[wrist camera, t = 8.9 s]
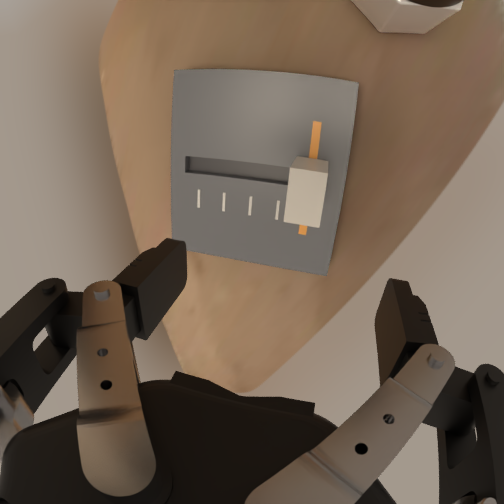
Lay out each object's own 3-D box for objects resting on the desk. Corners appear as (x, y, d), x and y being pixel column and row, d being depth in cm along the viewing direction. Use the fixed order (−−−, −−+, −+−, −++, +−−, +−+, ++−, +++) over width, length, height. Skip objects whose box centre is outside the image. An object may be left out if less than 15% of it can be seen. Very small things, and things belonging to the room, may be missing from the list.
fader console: (187, 72, 27) (173, 69, 24) (355, 85, 24) (358, 82, 22) (184, 236, 35) (172, 248, 33) (327, 261, 33) (326, 276, 30)
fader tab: (298, 153, 26) (289, 167, 21) (328, 158, 26) (328, 173, 20) (293, 197, 28) (283, 221, 23) (321, 201, 28) (319, 228, 22)
